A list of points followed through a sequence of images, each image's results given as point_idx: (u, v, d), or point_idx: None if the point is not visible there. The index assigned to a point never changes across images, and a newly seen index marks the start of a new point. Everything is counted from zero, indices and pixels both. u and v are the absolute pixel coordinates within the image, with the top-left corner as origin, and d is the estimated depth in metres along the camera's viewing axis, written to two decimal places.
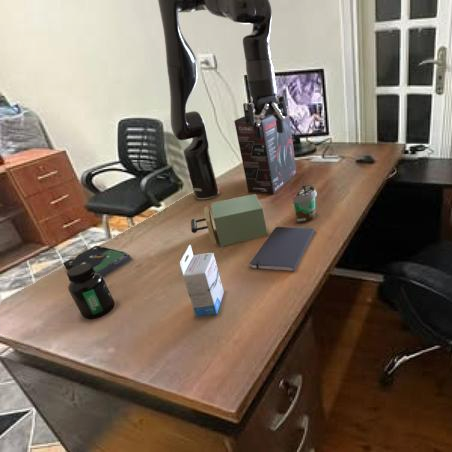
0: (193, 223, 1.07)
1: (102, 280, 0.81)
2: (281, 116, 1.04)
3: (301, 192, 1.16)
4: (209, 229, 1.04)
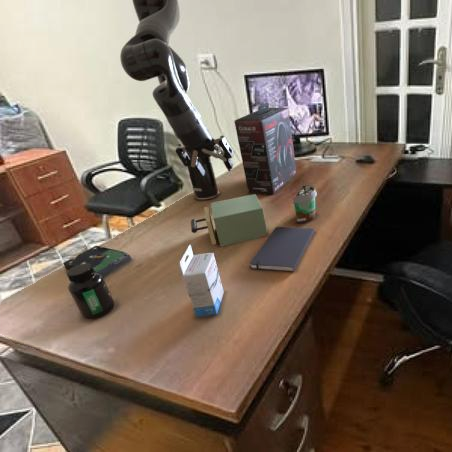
0: (193, 223, 1.07)
1: (102, 280, 0.81)
2: (222, 158, 0.96)
3: (301, 192, 1.16)
4: (209, 229, 1.04)
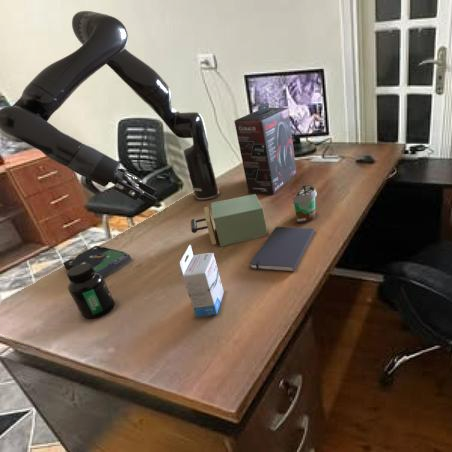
0: (193, 223, 1.07)
1: (102, 280, 0.81)
2: None
3: (301, 192, 1.16)
4: (209, 229, 1.04)
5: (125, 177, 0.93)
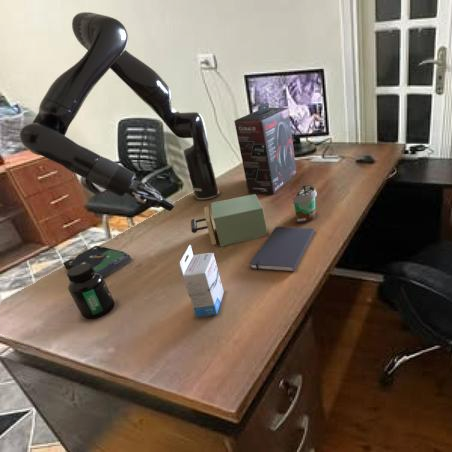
0: (193, 223, 1.07)
1: (102, 280, 0.81)
2: None
3: (301, 192, 1.16)
4: (209, 229, 1.04)
5: (140, 187, 0.96)
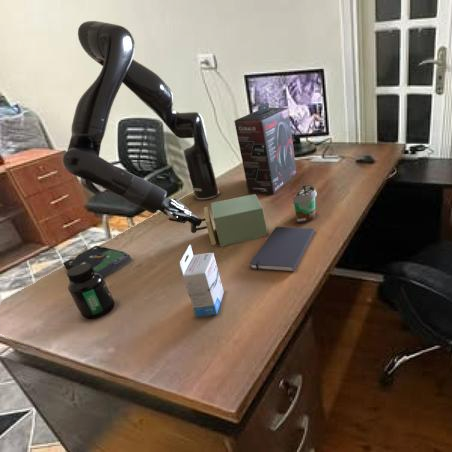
0: None
1: (102, 280, 0.81)
2: None
3: (301, 192, 1.16)
4: (209, 229, 1.04)
5: (171, 205, 1.01)
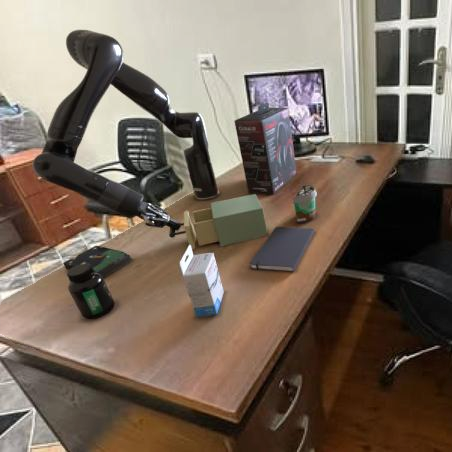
0: (171, 228, 1.06)
1: (102, 280, 0.81)
2: None
3: (301, 192, 1.16)
4: (187, 234, 1.02)
5: (148, 209, 0.99)
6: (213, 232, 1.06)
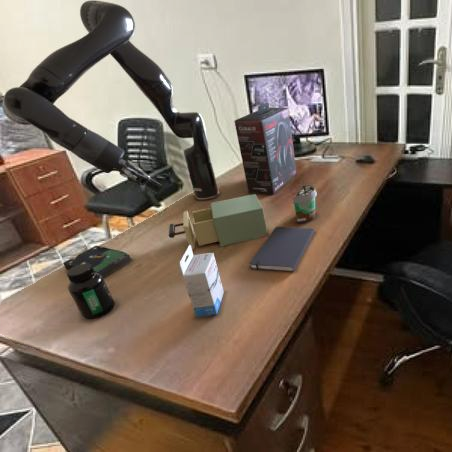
0: (171, 228, 1.06)
1: (102, 280, 0.81)
2: None
3: (301, 192, 1.16)
4: (187, 234, 1.02)
5: (129, 164, 0.93)
6: (212, 233, 1.06)
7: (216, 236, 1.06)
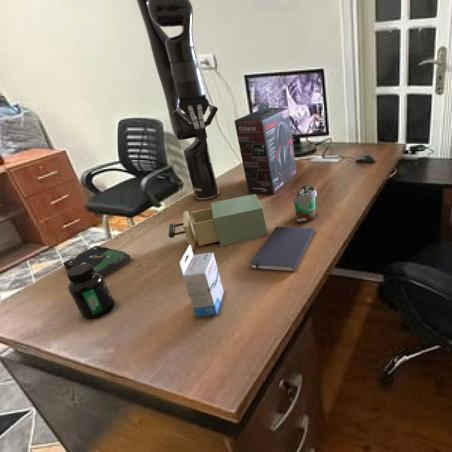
0: (171, 228, 1.06)
1: (102, 280, 0.81)
2: (201, 124, 1.03)
3: (301, 192, 1.16)
4: (187, 234, 1.02)
5: None
6: (212, 233, 1.06)
7: (216, 236, 1.06)
